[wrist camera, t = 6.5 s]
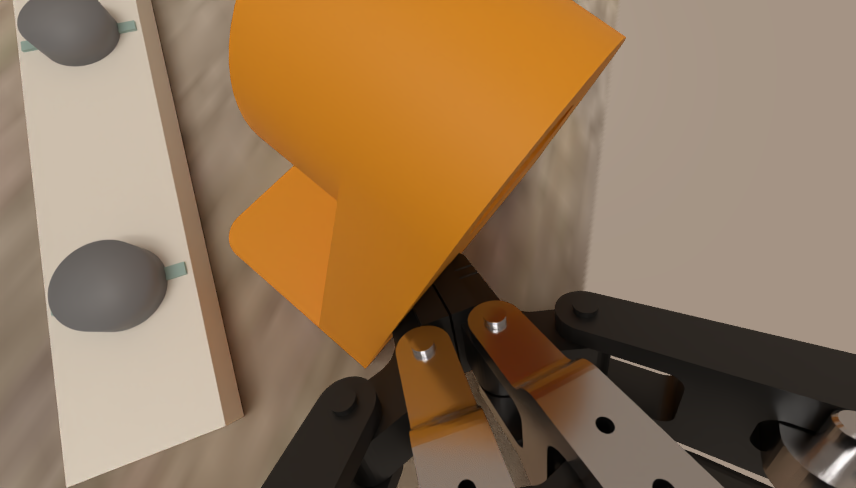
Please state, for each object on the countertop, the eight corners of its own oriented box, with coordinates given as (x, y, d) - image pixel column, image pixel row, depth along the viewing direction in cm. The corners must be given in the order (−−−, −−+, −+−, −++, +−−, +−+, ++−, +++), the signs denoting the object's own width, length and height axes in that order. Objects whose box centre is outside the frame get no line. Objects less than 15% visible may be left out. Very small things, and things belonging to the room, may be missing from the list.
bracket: (405, 101, 18) (418, -327, 6) (516, 186, 17) (758, -124, 6) (247, 253, 15) (-229, -9, 4) (371, 363, 14) (264, 464, 3)
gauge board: (104, 470, 13) (35, 502, 10) (38, -20, 18) (-17, -75, 15) (244, 416, 13) (210, 433, 11) (142, -37, 19) (104, -92, 16)
